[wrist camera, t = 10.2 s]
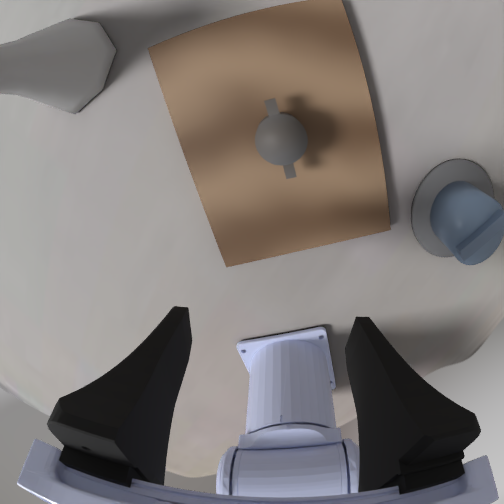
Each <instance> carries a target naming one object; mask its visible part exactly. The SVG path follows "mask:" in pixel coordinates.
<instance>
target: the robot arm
mask: <svg viewBox="0 0 504 504" xmlns="http://www.w3.org/2000/svg"><path fill="white" fill-rule="evenodd" d="M321 335H323V336H321ZM191 345H192V335H191V327H190V319H189V310H188V308H187V307H177V306H174V307H173V308H172V309H171V310H170V312H169V313H168V314H167V315H166V317H165V318H164V319H163V320H162V321H161V322H160V324H159V325H158V326H157V327H156V328H155V329H154V330H153V332H152V333H151V334H150V335H149V336H148V337H147V338H146V339H145V340H144V341H143V342H142V343H141V344H140V345H139V346H138V347H137V348H136V349H135V350H134V351H133V352H132V353H131V354H130V355H129V356H128V357H126V358H125V359H124V360H123V361H122V362H120V363H119V364H118V365H117V366H115V367H114V368H113V369H111V370H110V371H109V372H107V373H106V374H104V375H103V376H101V377H100V378H98V379H97V380H95V381H93V382H92V383H90V384H88V385H87V386H85V387H83V388H81V389H79V390H77V391H75V392H73V393H70V394H68V395H66V396H64V397H61V398H59V400H58V402H57V403H56V405H55V407H54V409H53V412H52V414H51V416H50V418H49V420H48V423H47V425H48V427H49V430H50V431H51V432H52V433H53V434H54V435H55V436H56V438H57V439H59V441H60V442H61V443H62V444H63V445H64V448H63V451H61V450H60V449H58V448H56V447H54V446H52V445H49V444H47V443H45V442H42V441H40V440H38V439H34V442H33V444H32V446H31V449H30V451H29V453H28V456H27V458H26V461H25V463H24V466H23V468H22V471H21V473H20V476H19V479H18V481H17V484H18V485H19V486H20V487H22V488H24V489H25V490H27V491H28V492H30V493H32V494H33V495H35V496H37V497H38V498H40V499H42V500H44V501H45V502H48V503H49V504H490V503H493V502H494V501H496V500H498V498H499V497H498V493H497V488H496V485H495V481H494V477H493V474H492V471H491V467H490V463H489V460H488V457H487V456H486V455H485V456H482V457H480V458H477V459H474V460H472V461H469V462H467V463H465V464H462V460H461V459H463V458H464V452H463V450H464V449H465V448H466V447H468V446H469V445H470V444H471V443H472V442H473V441H474V440H475V439H476V438H477V437H478V436H479V434H480V432H481V429H480V426H479V424H478V421H477V418H476V416H475V414H474V413H473V412H470V411H469V410H467V409H465V408H463V407H461V406H459V405H458V404H456V403H454V402H453V401H451V400H450V399H448V398H447V397H445V396H444V395H443V394H441V393H440V392H438V391H437V390H436V389H435V388H433V387H432V386H431V385H429V384H428V383H427V382H426V381H425V380H424V379H423V378H422V377H420V376H419V375H418V374H417V373H416V372H415V371H414V370H413V369H412V368H411V367H410V366H409V365H408V364H407V363H406V362H405V360H404V359H403V358H402V357H401V356H400V355H399V354H398V353H397V351H396V350H395V349H394V348H393V347H392V345H391V344H390V343H389V342H388V341H387V339H386V338H385V337H384V336H383V334H382V333H381V332H380V330H379V329H378V328H377V327H376V325H375V324H374V323H373V321H372V320H371V319H370V318H369V317H356V319H355V322H354V325H353V328H352V331H351V333H350V336H349V339H348V342H347V345H346V348H345V353H346V363H347V371H348V375H349V380H350V384H351V389H352V393H353V398H354V402H355V407H356V412H357V419H358V432H359V446H358V445H357V444H356V443H354V442H353V441H352V440H351V439H349V438H348V439H343V440H342V438H341V430H340V428H336V421H335V413H334V405H333V398H332V391H331V390H333V389H335V388H336V384H335V378H334V372H333V366H332V361H331V355H330V349H329V344H328V338H327V333H326V329H325V328H324V327H316V328H312V329H307V330H302V331H297V332H291V333H286V334H281V335H275V336H269V337H264V338H258V339H252V340H246V341H240V342H238V343H237V349H238V351H239V354H240V356H241V358H242V360H243V362H244V364H245V366H246V368H247V370H248V372H249V374H250V381H249V394H248V407H247V419H246V432H245V434H244V435H239V444H238V446H232V447H230V448H229V449H228V450H227V451H226V452H225V453H224V454H223V455H222V457H221V459H220V462H219V466H218V471H217V479H216V493H217V494H212V493H205V492H197V491H191V490H184V489H179V488H173V487H168V486H164V476H165V466H166V457H167V449H168V442H169V435H170V429H171V423H172V417H173V412H174V407H175V403H176V400H177V397H178V393H179V390H180V387H181V384H182V380H183V377H184V374H185V371H186V368H187V364H188V361H189V356H190V350H191ZM243 349H245V350H243Z"/></svg>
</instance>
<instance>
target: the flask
mask: <svg viewBox="0 0 504 504" xmlns="http://www.w3.org/2000/svg"><path fill="white" fill-rule="evenodd" d="M116 51H117V50H116V49H115V47H114V46H113V44H112V42H111V41H110V39H109V37H108V36H107V34H106V33H105V31H104V29H103V28H102V26H101V24H100V23H98V22H92V21H84V20H76V19H68V20H65V21H62V22H59V23H57V24H54V25H52V26H50V27H47V28H45V29H43V30H40V31H37V32H35V33H32V34H30V35H28V36H25V37H23V38H21V39H18V40H16V41H12V42H8V43H4V44H1V45H0V94H12V95H18V96H22V97H25V98H28V99H31V100H33V101H36V102H38V103H41V104H44V105H47V106H50V107H53V108H57V109H60V110H63V111H66V112H69V113H73V114H76V113H77V112H78V111H79V110H80V109H81V108H82V107H84V106H85V105H86V104H87V103H88V102H89V101H90V100H91V99H92V98H93V97H95V96H96V95H97V94H98V93H99V92H100V91H101V90H103V87H104V84H105V81H106V78H107V75H108V72H109V69H110V67H111V64H112V61H113V58H114V56H115V53H116Z"/></svg>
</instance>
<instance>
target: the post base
mask: <svg viewBox="0 0 504 504" xmlns="http://www.w3.org/2000/svg"><path fill="white" fill-rule="evenodd" d="M148 50H149V53H150V57H151V60H152V63H153V66H154V69H155V72H156V75H157V78H158V81H159V84H160V87H161V90H162V93H163V95H164V98H165V101H166V104H167V107H168V110H169V113H170V116H171V119H172V122H173V124H174V127H175V130H176V133H177V136H178V139H179V141H180V144H181V147H182V150H183V153H184V155H185V158H186V161H187V164H188V167H189V169H190V172H191V175H192V178H193V180H194V183H195V186H196V188H197V191H198V194H199V197H200V199H201V202H202V205H203V207H204V210H205V213H206V215H207V218H208V221H209V223H210V226H211V229H212V231H213V234H214V236H215V239H216V242H217V244H218V247H219V249H220V252H221V255H222V257H223V260H224V262H225V265H226V267H230V266H234V265H239V264H243V263H248V262H252V261H257V260H261V259H266V258H270V257H275V256H279V255H284V254H288V253H292V252H297V251H301V250H306V249H310V248H315V247H319V246H323V245H328V244H332V243H336V242H341V241H345V240H349V239H354V238H358V237H362V236H367V235H371V234H375V233H380V232H384V231H388V230H391V228H390V216H389V206H388V197H387V189H386V181H385V174H384V167H383V161H382V154H381V148H380V142H379V137H378V131H377V126H376V121H375V116H374V112H373V107H372V102H371V98H370V94H369V89H368V85H367V81H366V77H365V73H364V70H363V66H362V62H361V59H360V55H359V52H358V48H357V45H356V42H355V38H354V35H353V32H352V29H351V26H350V23H349V20H348V17H347V14H346V11H345V8H344V6H343V3H342V0H307V1H301V2H295V3H289V4H284V5H279V6H274V7H270V8H265V9H261V10H257V11H253V12H249V13H245V14H241V15H238V16H234V17H231V18H227V19H224V20H221V21H218V22H214V23H211V24H208V25H205V26H202V27H200V28H197V29H194V30H191V31H188V32H186V33H183V34H181V35H178V36H175V37H173V38H171V39H168V40H166V41H163V42H161V43H159V44H156V45H154V46H152V47H150V48H148Z"/></svg>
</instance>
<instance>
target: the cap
mask: <svg viewBox="0 0 504 504" xmlns="http://www.w3.org/2000/svg"><path fill="white" fill-rule="evenodd" d="M430 223H431V227H432V230H433V232H434V233H435V235H436V236H437V237H438V238H439V239H440V240H441V241H442V242H443V244H444V245H445V246H446V247H447V248H448V249H449V250H450V251H451V252H452V253H453V255H454V256H455V257H456V258H457V259H458V260H459V261H460V262H461V263H463V264H466V265H475V264H478V263H481V262H483V261H484V260H486V259H487V258H489V257H490V256H491V255H492V254H493V253H494V252H495V250H496V249H497V247H498V246H499V244H500V242H501V240H502V238H503V235H504V210H503V208H502V206H501V205H500V204H499V203H498V202H497V201H496V200H494V199H493V198H491V197H490V196H489V195H487V194H485V193H484V192H482V191H481V190H479V189H478V188H476V187H475V186H473V185H471V184H470V183H468V182H465V181H455V182H452V183H450V184H448V185H447V186H445V187H444V188H443V189H442V190H441V191H440V192H439V193H438V195H437V196H436V198H435V200H434V202H433V204H432V208H431V212H430Z"/></svg>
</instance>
